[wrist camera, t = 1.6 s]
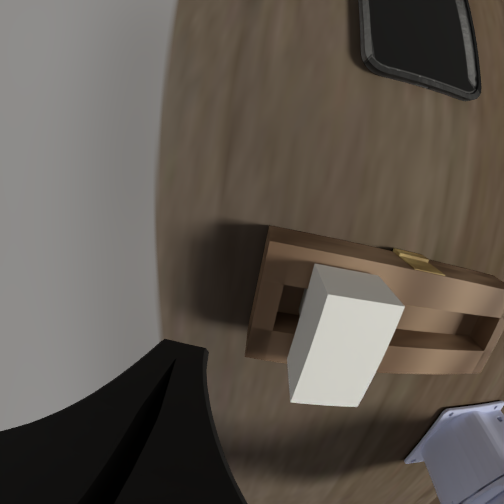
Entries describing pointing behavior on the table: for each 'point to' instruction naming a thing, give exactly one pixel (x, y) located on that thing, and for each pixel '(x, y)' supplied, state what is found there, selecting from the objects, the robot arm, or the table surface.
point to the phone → (422, 44)
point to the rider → (340, 336)
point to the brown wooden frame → (401, 284)
